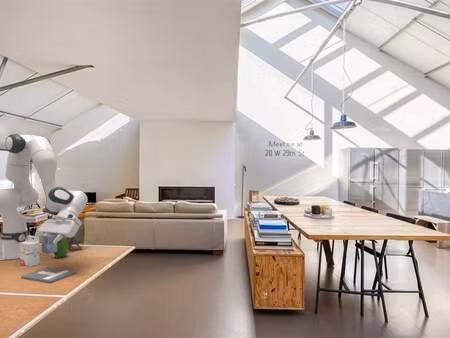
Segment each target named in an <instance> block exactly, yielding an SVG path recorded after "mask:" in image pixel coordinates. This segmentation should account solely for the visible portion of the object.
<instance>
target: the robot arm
mask: <svg viewBox="0 0 450 338" xmlns="http://www.w3.org/2000/svg"><path fill="white" fill-rule="evenodd" d="M4 145H5V148H6V150H7V152H8V156H7V160H6V166H5V167H6V168H5V178H6V179H7V181H9V182H11V183H12V184H13V187H12V188H11V187H10V188H2V189H0V217H1V220H2V232H0V261H5V260H7V261H8V260H17V259H20V243H21V242H26V241H28V230H27V218H26V216H25V215H24V214H22V213H20V212H19V211H18V208H21V207H29V206H31V205H34V204H36V203H38V201H39V192H38V191H37V190H36V188H34V187H33V186H32V183H31V182H30V170H31V169H30V168H31V161H32V163H33V166H34V168H35V170H36V172H37V174H38V177H39V179H40V181H41V185H42V188H43V191H44V195H45V199H46V201H45V204H44V209H45V211H46V212H47V213H48V214H49V215H51V216H55V217H51V218H48V219H46V220H45V221H44V222H43V223H42V224H41V225H40V227H39V228H38V233H39V234H41V236H44V235H48V234H54V235H57V237H56V238H55V239H53V240H52V241H51V243H52V244H56V243H57V242H58V241H59V240H60V239H62V238H63V237H69V238H71V237H73V236H74V235H75V234H76V232H77V231H78V229H79V226H81V224H82V223H81V221H82V220H80V219H79V218H78V217H79V215H80V214H81V213H82V212H83V210H84V209H85V207H86V205H88V202H89V201H88V196H87V194H86V193H85V192H83V191H82V190H70V189H67V188H65V187H62V186H58V185H57V183H56V171H57V165H58V164H57V156H56V154H55V150H54V148H53V146H52V144H51V141H50V140H49V138H47V137H45V136H42V135H41V136H39V135H34V134H18V133H12V134H11V133H10V134H9V135H8V136H7V137H6V138H5V142H4Z"/></svg>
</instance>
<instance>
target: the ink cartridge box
mask: <svg viewBox="0 0 450 338" xmlns="http://www.w3.org/2000/svg"><path fill="white" fill-rule="evenodd" d="M27 239H28V241H26V242H21V243H20V258H19V266H25V267H30V268H31V267H35V266H38V265H40V244H41V243H40V236H37V235H36V236H35V235H28V234H27Z"/></svg>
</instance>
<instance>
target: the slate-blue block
mask: <svg viewBox="0 0 450 338" xmlns="http://www.w3.org/2000/svg"><path fill="white" fill-rule="evenodd" d="M56 237H57V235H54V234H48V235H41V254H46V255H47V254H48V255H50V254H54V252H57V243H56V244H52V243H51V241H52V240H53V239H55V238H56Z"/></svg>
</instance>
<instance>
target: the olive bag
mask: <svg viewBox="0 0 450 338" xmlns="http://www.w3.org/2000/svg"><path fill="white" fill-rule="evenodd" d="M80 221H81V223H82V224H81V226H79V229H78V231H77V232H76V234H75V235H74V236H73V237H71V238H69V237H65V238H66V240H67V243H68V247H69V248H72V246H73V245H74V246H75V245H76V246H77V247H78V250H82V249H83V248H82V247H81V246H80V245H79V244H83V243H84V242H85V235H86V234H85V233H86V232H85V231H86V230H85V229H86V228H85V227H86V226H85V222H84V221H82V220H80Z"/></svg>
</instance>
